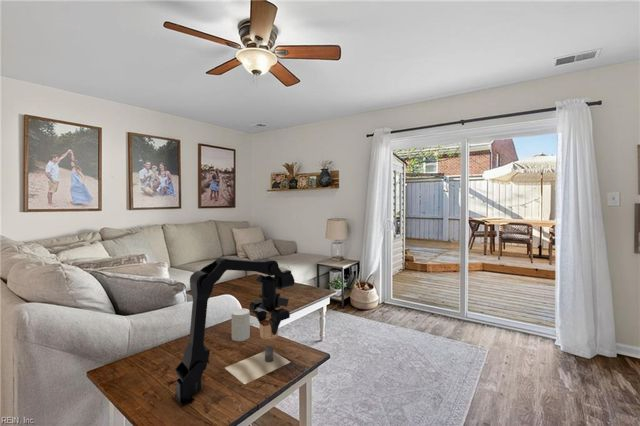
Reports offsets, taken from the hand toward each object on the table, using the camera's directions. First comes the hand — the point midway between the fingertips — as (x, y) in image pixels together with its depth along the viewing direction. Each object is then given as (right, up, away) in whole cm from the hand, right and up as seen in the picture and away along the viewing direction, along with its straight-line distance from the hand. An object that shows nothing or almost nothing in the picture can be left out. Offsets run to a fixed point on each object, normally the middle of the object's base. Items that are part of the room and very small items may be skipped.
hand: (269, 331), depth 115 cm
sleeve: (0, -1, 0) cm, 1 cm away
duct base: (-4, -13, -3) cm, 14 cm away
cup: (-17, -12, +23) cm, 31 cm away
